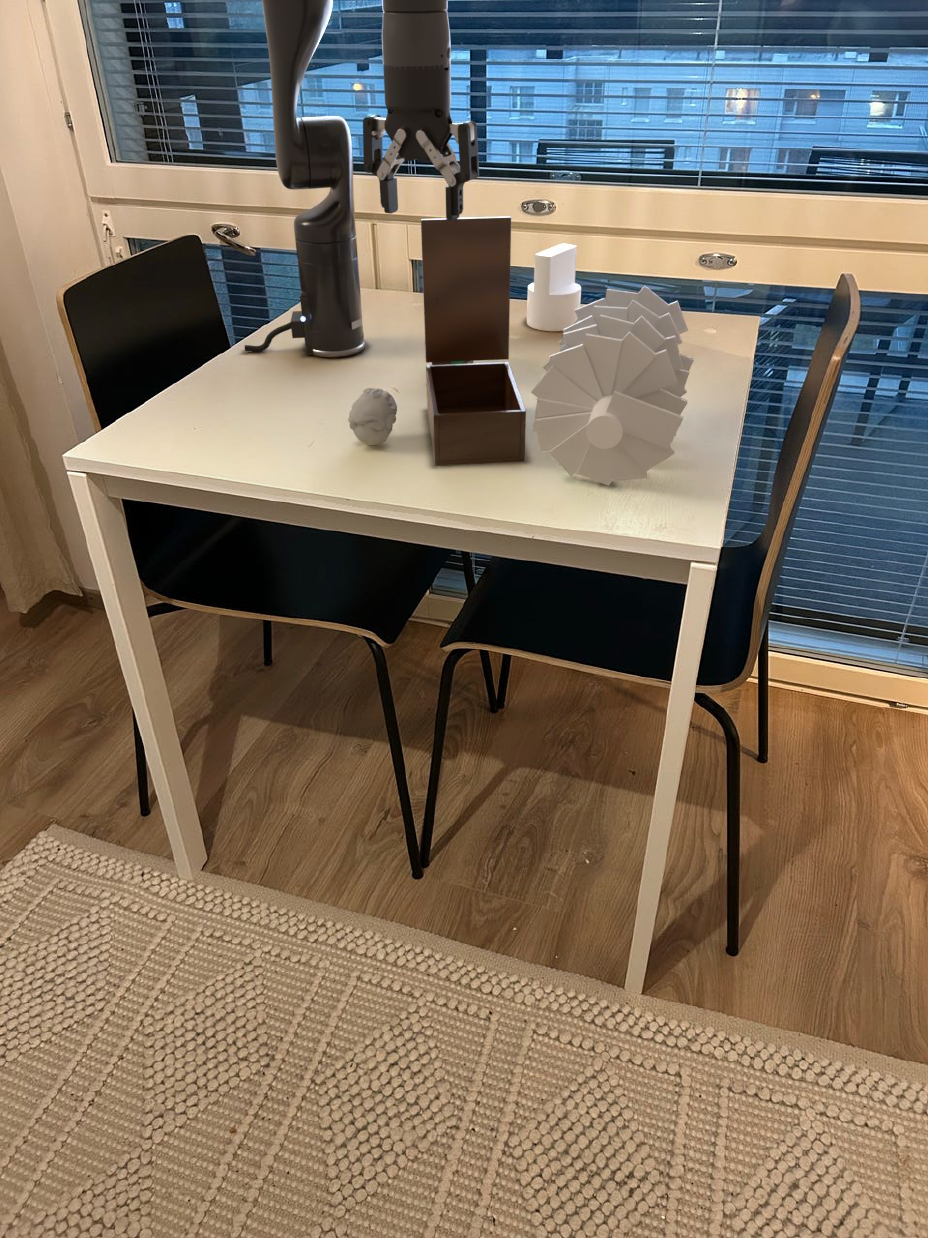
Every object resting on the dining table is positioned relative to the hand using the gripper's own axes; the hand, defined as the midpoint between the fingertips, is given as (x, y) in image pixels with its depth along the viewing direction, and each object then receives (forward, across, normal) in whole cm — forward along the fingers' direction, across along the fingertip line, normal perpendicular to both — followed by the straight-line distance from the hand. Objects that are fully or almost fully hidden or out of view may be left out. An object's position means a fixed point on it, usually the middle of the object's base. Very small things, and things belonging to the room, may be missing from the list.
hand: (421, 215), depth 113 cm
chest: (+26, +8, -2) cm, 27 cm away
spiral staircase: (+26, +26, +1) cm, 37 cm away
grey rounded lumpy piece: (+26, -2, -10) cm, 28 cm away
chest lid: (+10, +4, +4) cm, 12 cm away
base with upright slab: (+26, 0, +45) cm, 52 cm away
